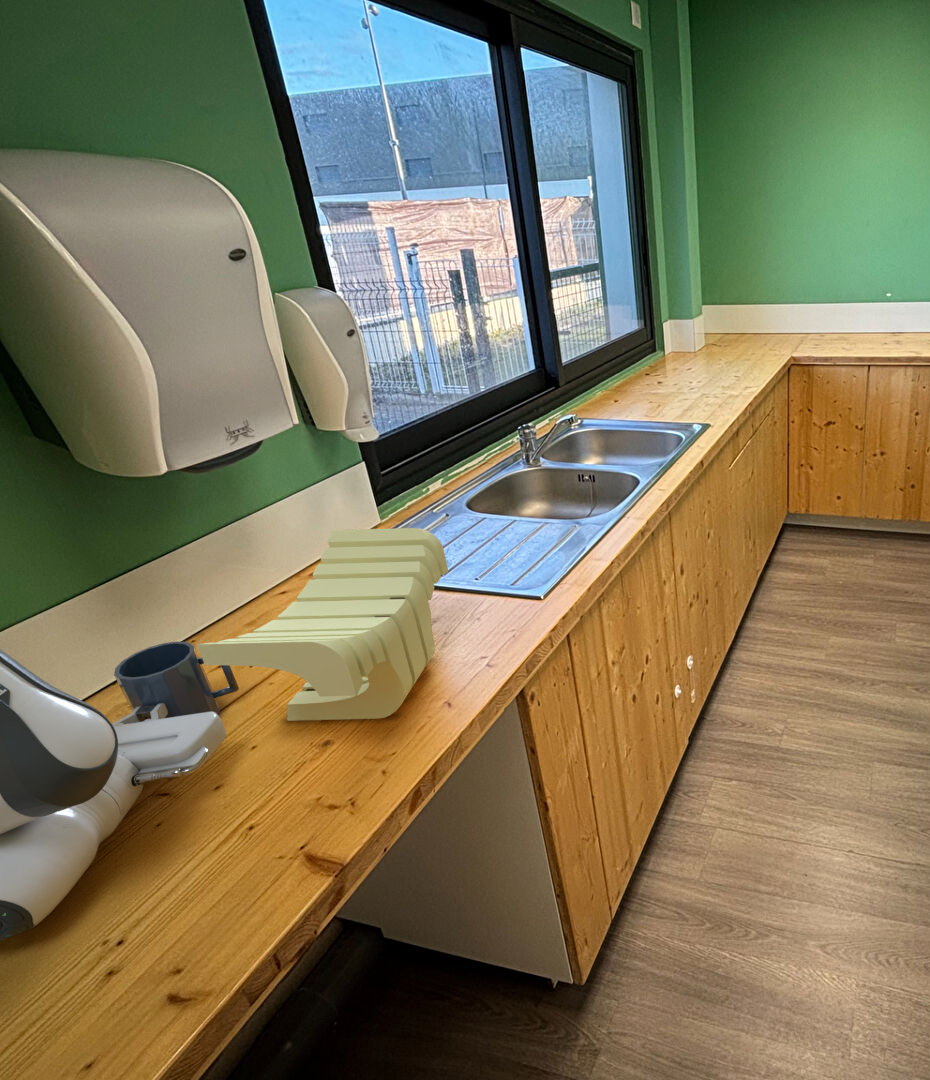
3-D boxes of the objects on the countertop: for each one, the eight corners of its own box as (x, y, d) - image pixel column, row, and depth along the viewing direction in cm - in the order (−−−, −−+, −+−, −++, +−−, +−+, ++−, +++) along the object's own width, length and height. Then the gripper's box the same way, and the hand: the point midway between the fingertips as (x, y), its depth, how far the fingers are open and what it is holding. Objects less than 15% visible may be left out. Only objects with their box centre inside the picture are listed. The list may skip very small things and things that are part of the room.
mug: (143, 752, 88) (111, 687, 83) (147, 717, 94) (117, 655, 89) (246, 717, 93) (220, 655, 89) (243, 687, 99) (219, 627, 95)
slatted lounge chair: (378, 764, 84) (339, 640, 77) (248, 767, 85) (196, 644, 77) (461, 628, 112) (438, 527, 104) (362, 631, 112) (332, 530, 104)
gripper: (183, 751, 75) (236, 675, 87) (-38, 786, 71) (49, 701, 84) (204, 795, 78) (252, 715, 90) (-8, 830, 74) (72, 742, 86)
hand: (153, 709), depth 87 cm, fingers closed, pressing on mug
